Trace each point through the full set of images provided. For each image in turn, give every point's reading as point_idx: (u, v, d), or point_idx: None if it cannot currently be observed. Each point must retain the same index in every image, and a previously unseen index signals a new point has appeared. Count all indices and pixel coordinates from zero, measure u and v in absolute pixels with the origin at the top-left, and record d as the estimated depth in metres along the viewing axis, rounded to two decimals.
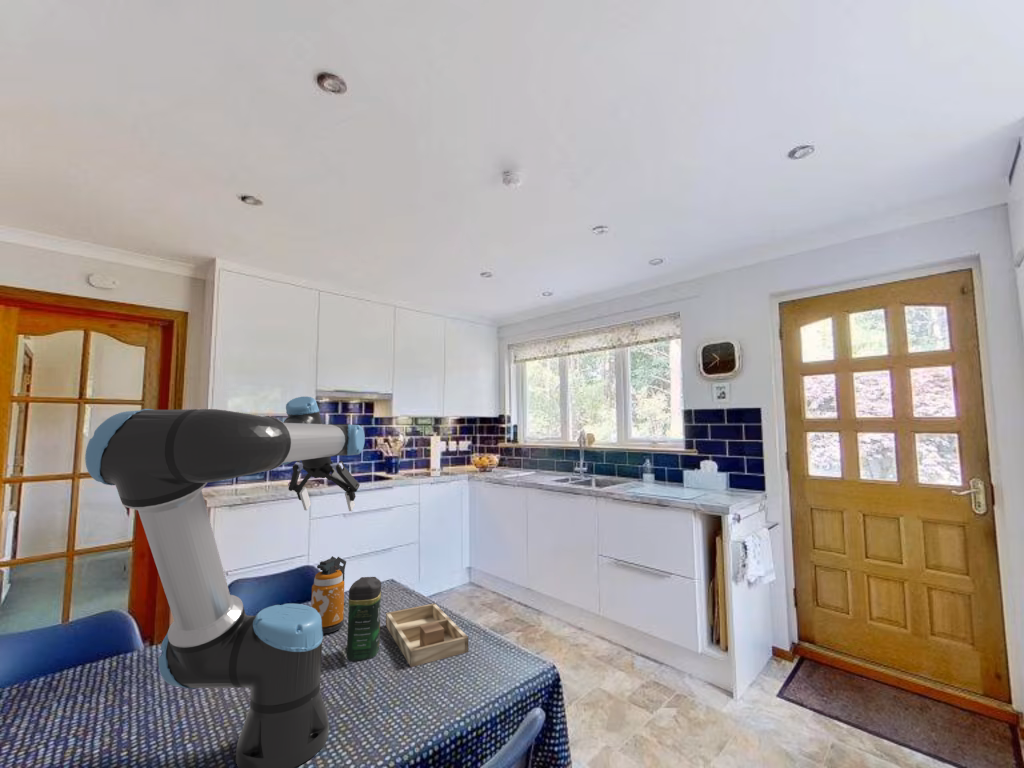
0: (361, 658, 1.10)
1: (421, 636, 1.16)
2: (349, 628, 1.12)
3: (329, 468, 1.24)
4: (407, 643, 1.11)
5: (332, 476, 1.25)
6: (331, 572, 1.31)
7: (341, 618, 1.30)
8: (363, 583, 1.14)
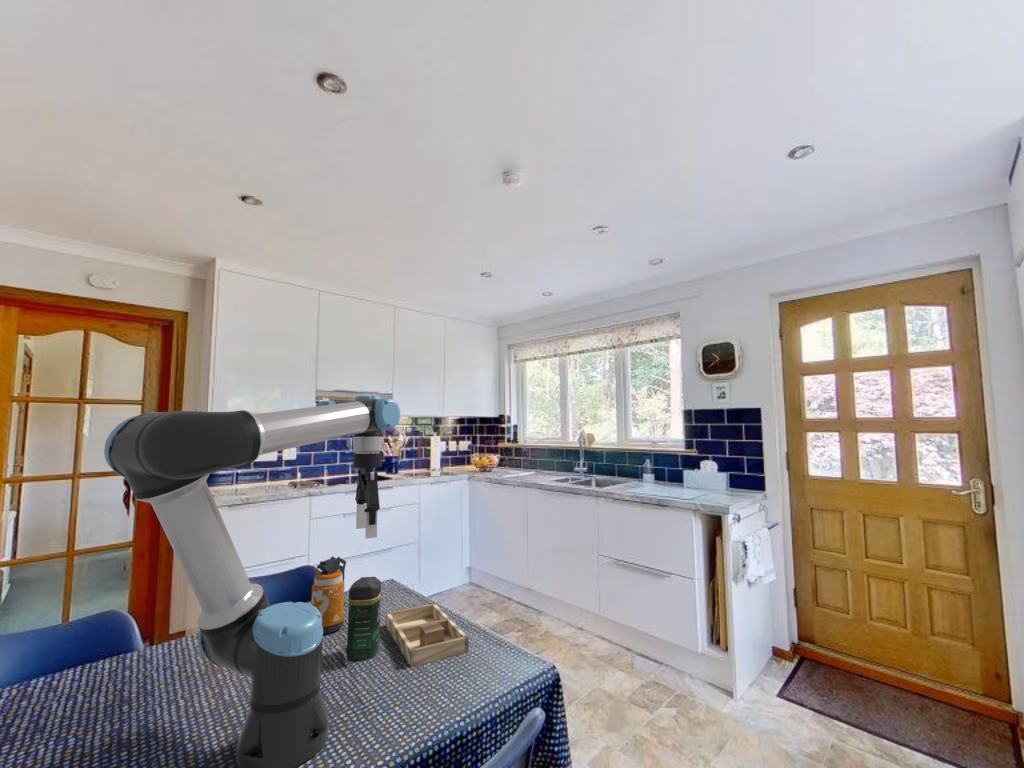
0: (361, 658, 1.10)
1: (421, 636, 1.16)
2: (349, 628, 1.12)
3: (366, 475, 1.16)
4: (407, 643, 1.11)
5: (366, 486, 1.16)
6: (331, 572, 1.31)
7: (341, 618, 1.30)
8: (363, 583, 1.14)
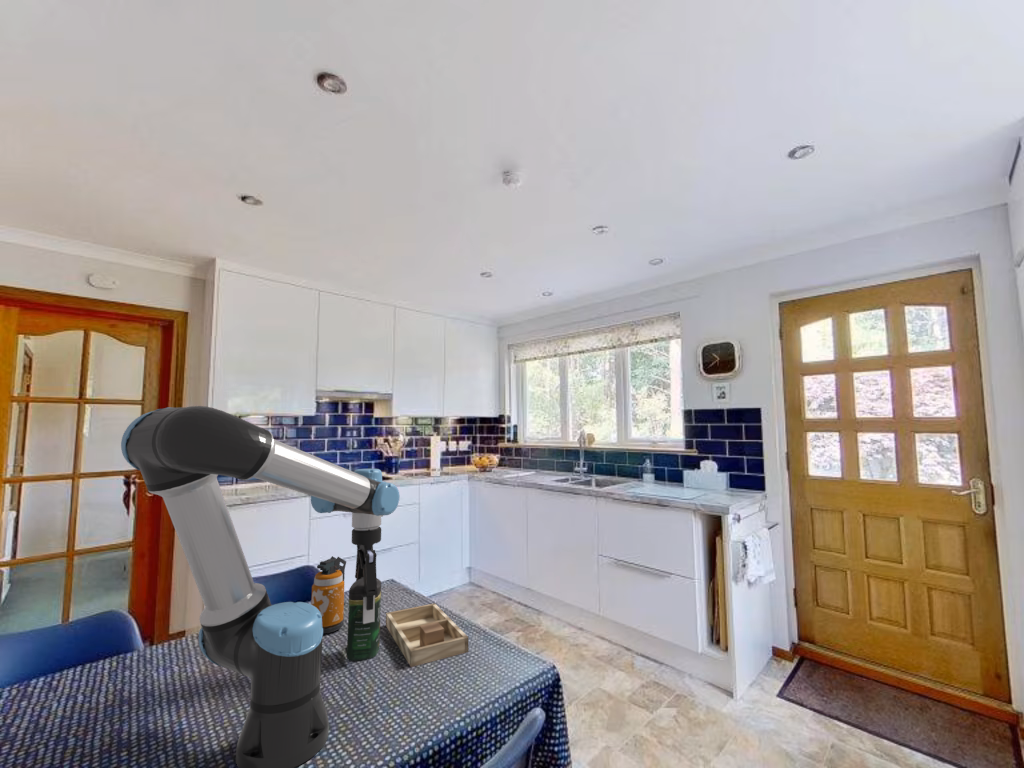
0: (361, 658, 1.10)
1: (421, 636, 1.16)
2: (349, 628, 1.12)
3: (364, 553, 1.14)
4: (407, 643, 1.11)
5: (364, 566, 1.14)
6: (331, 572, 1.31)
7: (341, 618, 1.30)
8: (363, 583, 1.14)
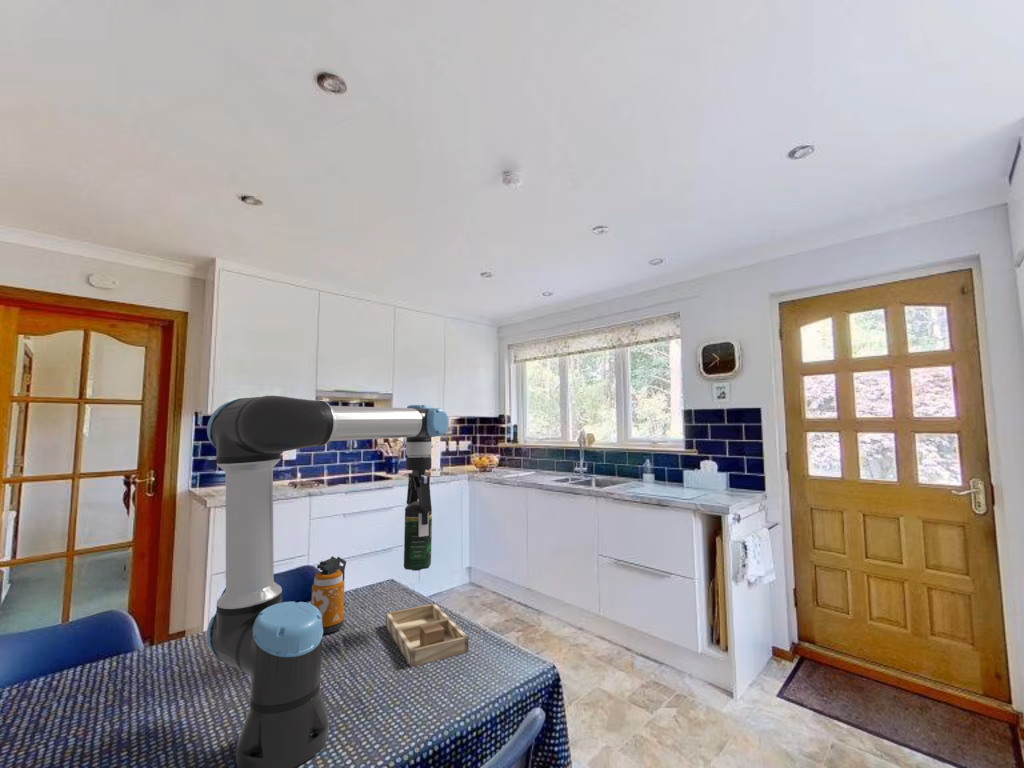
0: (417, 567, 1.25)
1: (421, 636, 1.16)
2: (406, 542, 1.27)
3: (418, 477, 1.29)
4: (407, 643, 1.11)
5: (418, 488, 1.28)
6: (331, 572, 1.31)
7: (341, 618, 1.30)
8: (417, 503, 1.29)
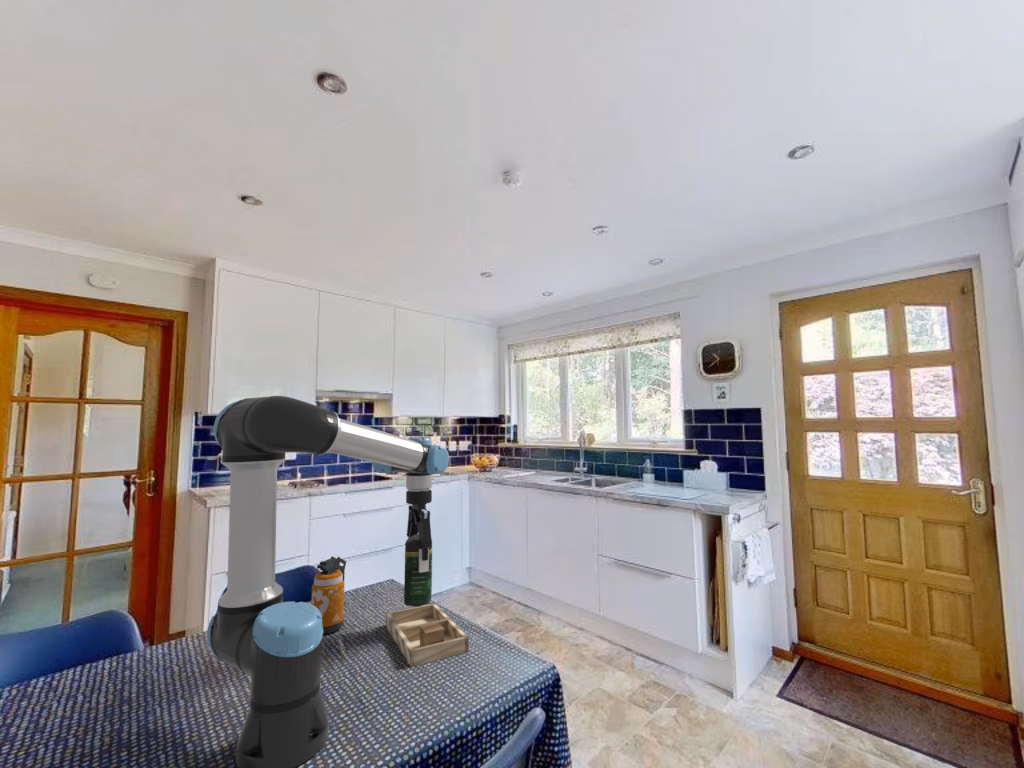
0: (418, 603, 1.24)
1: (421, 636, 1.16)
2: (406, 577, 1.26)
3: (419, 511, 1.28)
4: (407, 643, 1.11)
5: (418, 523, 1.27)
6: (331, 572, 1.31)
7: (341, 618, 1.30)
8: (417, 538, 1.28)
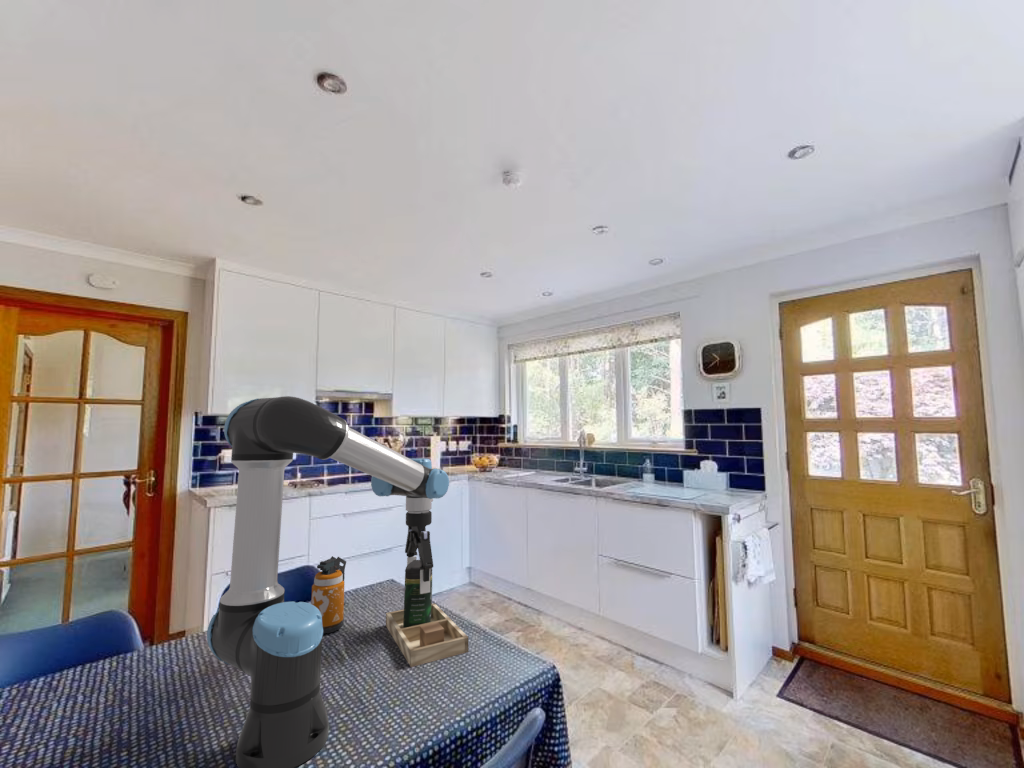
0: None
1: (421, 636, 1.16)
2: (405, 604, 1.25)
3: (418, 533, 1.27)
4: (407, 643, 1.11)
5: (419, 544, 1.26)
6: (331, 572, 1.31)
7: (341, 618, 1.30)
8: (418, 564, 1.27)
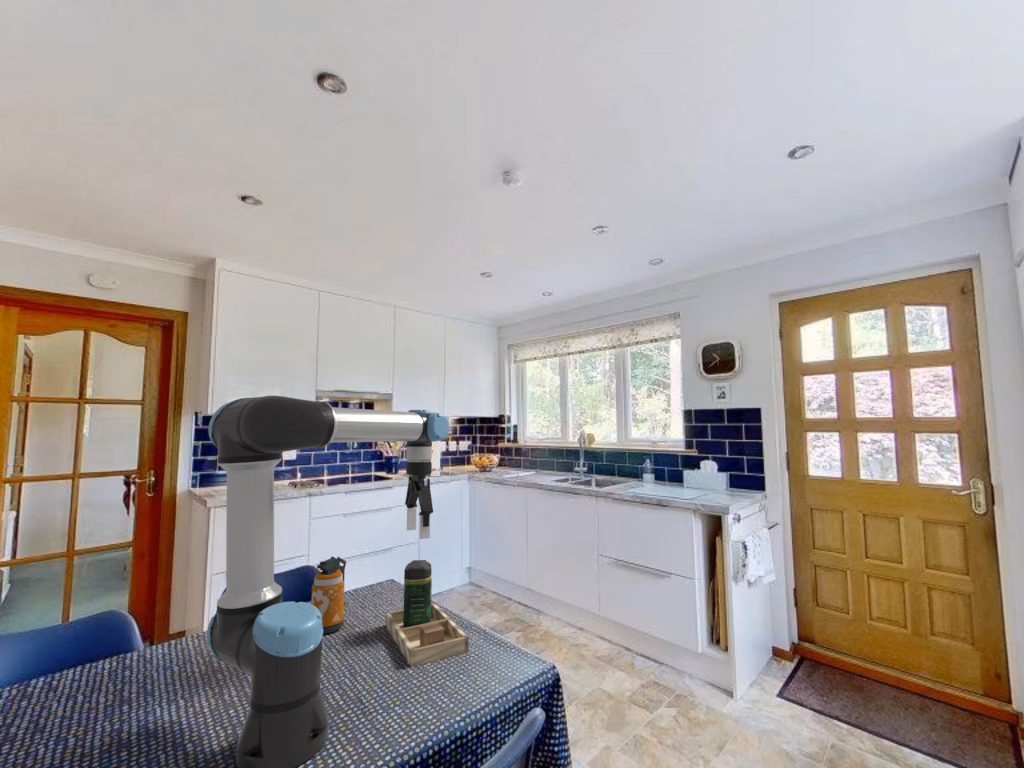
0: None
1: (421, 636, 1.16)
2: (405, 605, 1.25)
3: (418, 481, 1.28)
4: (407, 643, 1.11)
5: (419, 491, 1.28)
6: (331, 572, 1.31)
7: (341, 618, 1.30)
8: (417, 565, 1.27)
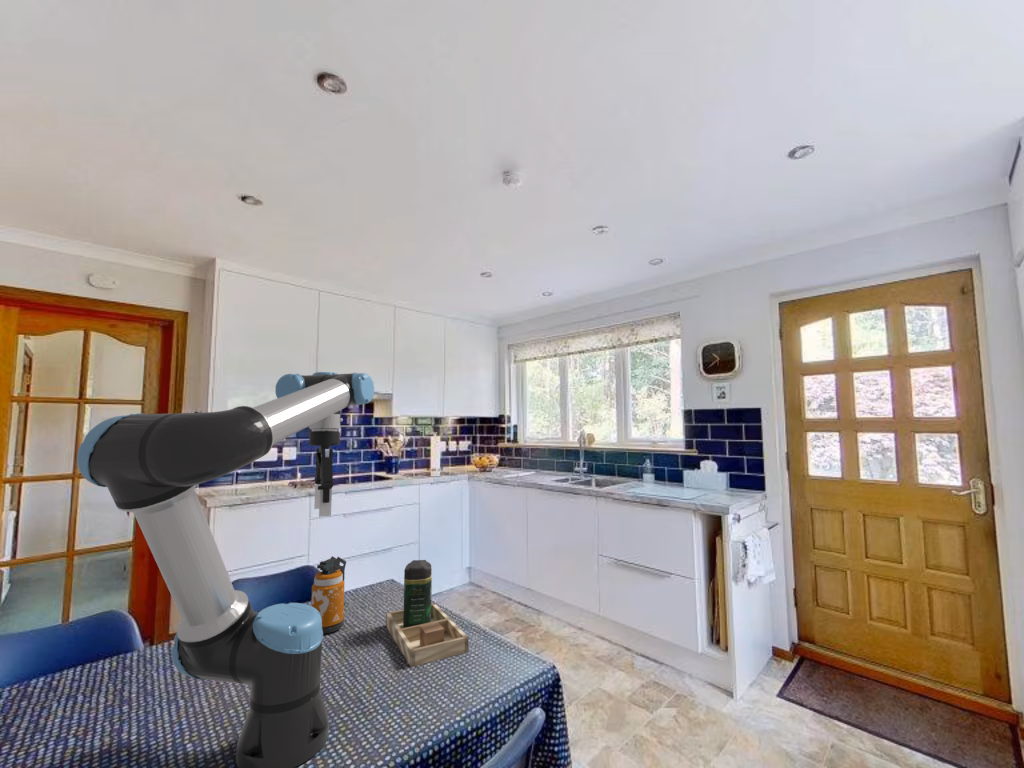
0: None
1: (421, 636, 1.16)
2: (405, 605, 1.25)
3: (321, 452, 1.13)
4: (407, 643, 1.11)
5: (321, 464, 1.13)
6: (331, 572, 1.31)
7: (341, 618, 1.30)
8: (417, 565, 1.27)
